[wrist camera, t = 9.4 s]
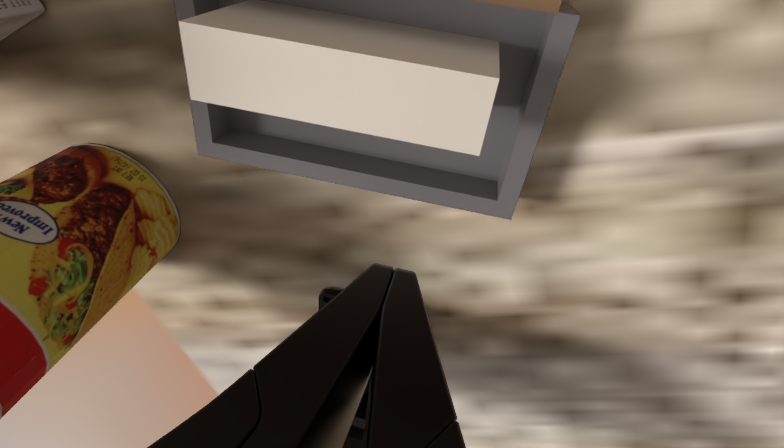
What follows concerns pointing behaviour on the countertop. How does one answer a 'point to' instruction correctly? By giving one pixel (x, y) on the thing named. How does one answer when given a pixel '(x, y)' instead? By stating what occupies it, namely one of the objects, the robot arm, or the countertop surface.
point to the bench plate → (529, 4)
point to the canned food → (72, 253)
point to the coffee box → (17, 14)
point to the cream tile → (344, 72)
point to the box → (399, 158)
